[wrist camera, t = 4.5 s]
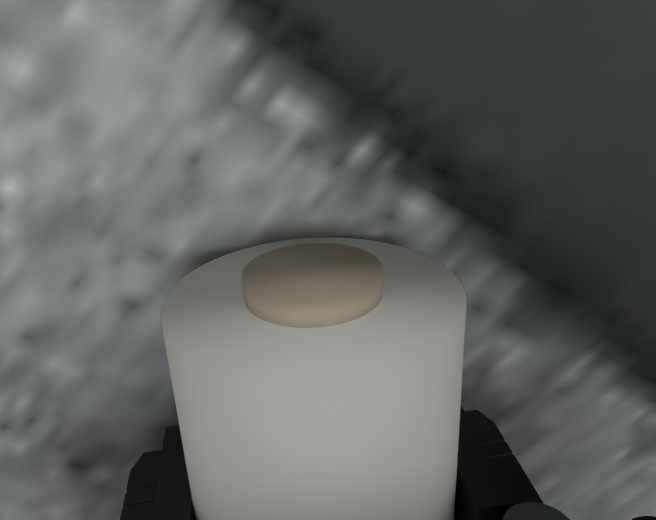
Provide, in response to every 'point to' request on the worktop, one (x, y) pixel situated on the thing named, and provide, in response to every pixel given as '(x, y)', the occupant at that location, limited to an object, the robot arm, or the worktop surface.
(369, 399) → the roll
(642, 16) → the worktop surface
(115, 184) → the worktop surface
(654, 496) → the worktop surface
